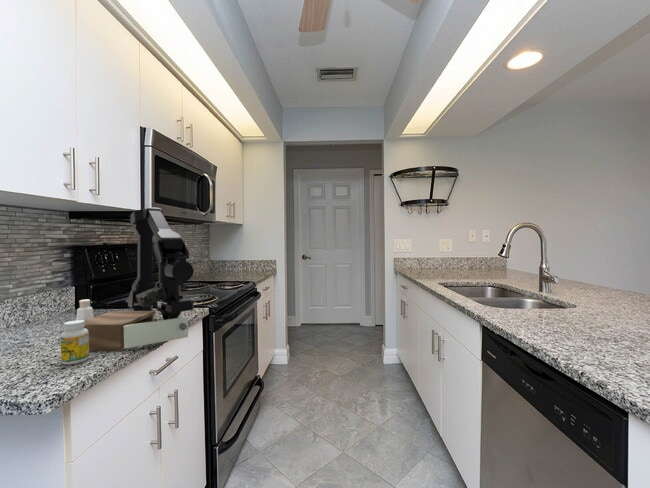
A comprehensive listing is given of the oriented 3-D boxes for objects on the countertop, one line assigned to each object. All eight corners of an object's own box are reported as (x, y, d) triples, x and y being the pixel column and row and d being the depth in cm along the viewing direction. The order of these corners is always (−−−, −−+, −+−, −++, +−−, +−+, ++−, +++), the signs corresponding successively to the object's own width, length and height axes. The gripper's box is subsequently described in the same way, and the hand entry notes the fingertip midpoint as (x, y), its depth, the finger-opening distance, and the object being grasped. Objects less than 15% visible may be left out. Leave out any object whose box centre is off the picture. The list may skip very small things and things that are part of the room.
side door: (187, 336, 93) (187, 316, 93) (189, 338, 91) (188, 317, 91) (123, 347, 83) (123, 325, 83) (124, 350, 82) (124, 327, 81)
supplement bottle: (94, 357, 78) (93, 319, 78) (74, 365, 73) (73, 325, 73) (76, 356, 79) (75, 318, 79) (54, 364, 74) (54, 324, 74)
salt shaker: (82, 338, 94) (82, 302, 94) (69, 336, 95) (69, 301, 95) (100, 333, 99) (99, 298, 99) (87, 331, 101) (87, 298, 101)
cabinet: (111, 332, 99) (111, 311, 99) (155, 332, 99) (155, 310, 99) (70, 350, 83) (70, 324, 83) (122, 350, 83) (122, 324, 83)
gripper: (128, 277, 92) (127, 330, 92) (152, 284, 80) (152, 344, 80) (167, 274, 100) (166, 322, 101) (194, 280, 88) (194, 335, 88)
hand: (169, 330), depth 92 cm, fingers closed
